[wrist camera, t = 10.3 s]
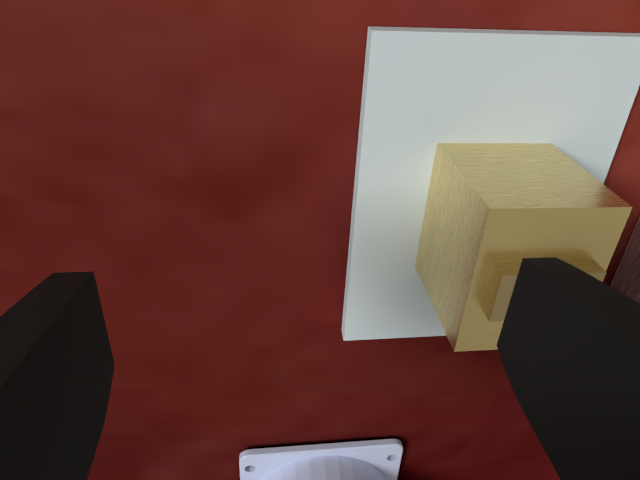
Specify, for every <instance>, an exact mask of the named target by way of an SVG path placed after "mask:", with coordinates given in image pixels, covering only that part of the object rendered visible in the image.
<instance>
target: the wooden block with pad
mask: <svg viewBox="0 0 640 480" xmlns="http://www.w3.org/2000/svg"><path fill="white" fill-rule="evenodd" d="M631 210H632V206H631V205H629V204H628V203H627V202H625V201H624V200H623V199H622V198H620V197H619V196H618V195H616V194H615V193H614V192H613V191H611V190H610V189H609V188H607V187H606V186H605V185H604V184H602V183H601V182H600V181H598V180H597V179H596V178H595V177H593V176H592V175H591V174H589V173H588V172H587V171H586V170H584V169H583V168H582V167H580V166H579V165H578V164H577V163H575V162H574V161H573V160H571V159H570V158H569V157H568V156H566V155H565V154H564V153H562V152H561V151H560V150H559V149H557V148H556V147H555V146H553V145H552V144H551V143H437V146H436V151H435V157H434V162H433V168H432V174H431V179H430V185H429V190H428V196H427V201H426V207H425V213H424V218H423V224H422V229H421V235H420V240H419V246H418V252H417V257H416V263H415V269H416V271H417V274H418V276H419V278H420V280H421V282H422V284H423V286H424V288H425V291H426V293H427V295H428V297H429V299H430V301H431V303H432V306H433V308H434V310H435V312H436V314H437V316H438V318H439V321H440V323H441V325H442V327H443V329H444V331H445V333H446V336H447V338H448V340H449V342H450V344H451V346H452V348H453V351H454V352H456V351H477V350H498V348H497V342H498V339H499V335H500V332H501V329H502V325H503V322H504V319H505V315H506V312H507V309H508V305H509V302H510V299H511V295H512V292H513V289H514V285H515V282H516V279H517V275H518V272H519V269H520V265H521V262H522V259H523V258H547V257H556V258H558V259H560V260H562V261H564V262H567V263H569V264H571V265H573V266H574V267H576V268H578V269H580V270H582V271H584V272H586V273H587V274H589V275H591V276H593V277H595V278H596V279H598V280H600V281H602V282H603V280H604V278H605V275H606V273H607V272H606V270H607V268H608V265H609V263H610V260H611V258H612V255H613V253H614V251H615V248H616V246H617V243H618V241H619V239H620V236H621V234H622V231H623V229H624V227H625V224H626V222H627V219H628V217H629V215H630V212H631Z"/></svg>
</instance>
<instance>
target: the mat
mask: <svg viewBox="0 0 640 480" xmlns="http://www.w3.org/2000/svg"><path fill="white" fill-rule="evenodd" d="M639 85H640V33H606V32H566V31H527V30H488V29H448V28H409V27H369V26H368V34H367V45H366V56H365V68H364V79H363V91H362V102H361V113H360V125H359V136H358V148H357V159H356V171H355V182H354V193H353V205H352V216H351V228H350V239H349V251H348V262H347V273H346V285H345V296H344V308H343V319H342V330H341V331H342V335H343V340H344V341H347V340H367V339H387V338H407V337H427V336H446V333H445V331H444V329H443V327H442V325H441V323H440V321H439V318H438V316H437V314H436V312H435V310H434V308H433V306H432V303H431V301H430V299H429V297H428V295H427V293H426V291H425V288H424V286H423V284H422V282H421V280H420V278H419V276H418V274H417V271H416V269H415V263H416V257H417V252H418V246H419V240H420V235H421V229H422V224H423V218H424V213H425V207H426V201H427V196H428V190H429V185H430V179H431V174H432V168H433V162H434V157H435V151H436V146H437V143H551V144H552V145H553V146H555V147H556V148H557V149H559V150H560V151H561V152H562V153H564V154H565V155H566V156H568V157H569V158H570V159H571V160H573V161H574V162H575V163H577V164H578V165H579V166H580V167H582V168H583V169H584V170H586V171H587V172H588V173H589V174H591V175H592V176H593V177H595V178H596V179H597V180H598V181H600V182H601V183H602V184H604V181H605V179H606V176H607V173H608V170H609V168H610V165H611V162H612V159H613V157H614V154H615V151H616V148H617V146H618V143H619V140H620V137H621V135H622V132H623V129H624V127H625V124H626V121H627V118H628V116H629V113H630V110H631V107H632V105H633V102H634V99H635V96H636V94H637V91H638V88H639Z"/></svg>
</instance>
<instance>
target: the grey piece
mask: <svg viewBox="0 0 640 480" xmlns="http://www.w3.org/2000/svg"><path fill="white" fill-rule="evenodd" d="M610 287H612V288H614V289H615V290H617V291H619V292H621V293H622V294H624V295H626V296H627V297H629V298H631V299H633V300H634V301H636V302H638V303H639V304H640V215H639V218H638V220H637V223H636V225H635V227H634V230H633V232H632V235H631V237H630V239H629V242H628V244H627V246H626V249H625V251H624V254H623V256H622V258H621V261H620V263H619V265H618V268H617V270H616V273H615V275H614V277H613V280H612V282H611V285H610Z"/></svg>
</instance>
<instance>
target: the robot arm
mask: <svg viewBox="0 0 640 480" xmlns="http://www.w3.org/2000/svg"><path fill="white" fill-rule="evenodd" d="M497 348H498V351H499V353H500V356H501V359H502V362H503V365H504V367H505V370H506V373H507V375H508V378H509V380H510V383H511V385H512V388H513V390H514V393H515V395H516V397H517V399H518V401H519V403H520V405H521V407H522V409H523V411H524V413H525V415H526V417H527V418H528V420H529V422H530V424H531V426H532V428H533V430H534V431H535V433H536V435H537V437H538V439H539V441H540V443H541V444H542V446H543V448H544V450H545V452H546V453H547V455H548V457H549V459H550V461H551V463H552V464H553V466H554V468H555V470H556V472H557V474H558V475H559V477H560V479H561V480H640V304H639V303H638V302H636V301H634V300H633V299H631V298H629V297H627V296H626V295H624V294H622V293H621V292H619V291H617V290H615V289H614V288H612V287H610V286H609V285H607V284H605V283H603V282H602V281H600V280H598V279H596V278H595V277H593V276H591V275H589V274H587V273H586V272H584V271H582V270H580V269H578V268H576V267H574V266H573V265H571V264H569V263H567V262H564V261H562V260H560V259H558V258H556V257H547V258H523V259H522V262H521V265H520V269H519V272H518V275H517V279H516V282H515V285H514V289H513V292H512V295H511V299H510V302H509V305H508V309H507V312H506V315H505V319H504V322H503V325H502V329H501V332H500V335H499V339H498V342H497ZM113 371H114V361H113V356H112V352H111V347H110V343H109V339H108V334H107V330H106V325H105V321H104V316H103V312H102V307H101V303H100V299H99V294H98V290H97V285H96V281H95V276H94V272H68V273H52V274H51V275H50V276H49V277H47V278H46V279H45V280H43V281H42V282H41V283H40V284H38V285H37V286H36V287H35V288H34V289H33V290H31V291H30V292H29V293H28V294H27V295H25V296H24V297H23V298H22V299H21V300H20V301H18V302H17V303H16V304H15V305H14V306H13V307H11V308H10V309H9V310H8V311H7V312H6V313H4V314H3V315H2V316H1V317H0V480H87V477H88V474H89V471H90V468H91V465H92V461H93V458H94V455H95V452H96V448H97V445H98V442H99V439H100V435H101V432H102V429H103V425H104V422H105V416H106V411H107V406H108V401H109V395H110V389H111V383H112V377H113ZM402 453H403V446H402V443H401V441H400V440H398V439H380V440H366V441H353V442H339V443H326V444H312V445H299V446H285V447H271V448H258V449H248V450H245V451H243V452H242V453H241V454H240V456H239V466H240V480H397V478H398V473H399V468H400V463H401V458H402Z"/></svg>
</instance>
